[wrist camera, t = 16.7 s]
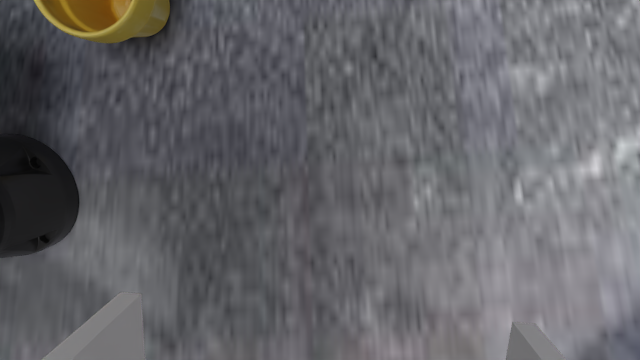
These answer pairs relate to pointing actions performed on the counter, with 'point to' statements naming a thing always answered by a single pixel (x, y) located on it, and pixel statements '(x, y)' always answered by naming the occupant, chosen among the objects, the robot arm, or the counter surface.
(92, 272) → the counter surface
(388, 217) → the counter surface
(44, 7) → the plant pot
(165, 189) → the counter surface
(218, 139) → the counter surface
